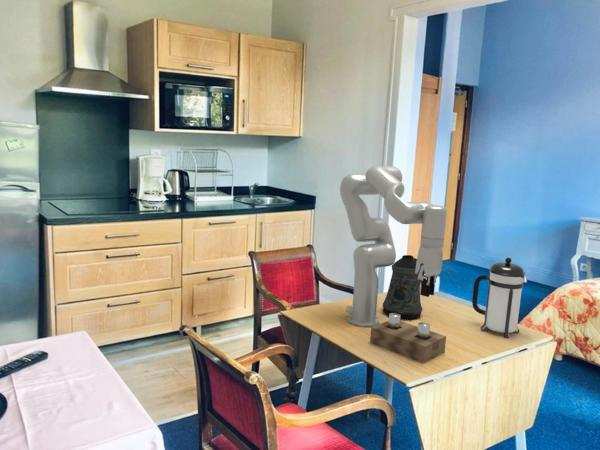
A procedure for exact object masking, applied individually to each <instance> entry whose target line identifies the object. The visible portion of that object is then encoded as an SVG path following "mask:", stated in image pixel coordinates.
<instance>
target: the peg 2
mask: <svg viewBox="0 0 600 450" xmlns="http://www.w3.org/2000/svg"><path fill="white" fill-rule="evenodd" d="M417 324H418V325H417V327H418V333H417V338H420V339H423V340H428V339H429V333H430V331H431V324H430V323H428V322H424V321H422V322H418V323H417Z"/></svg>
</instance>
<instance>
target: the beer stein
mask: <svg viewBox="0 0 600 450" xmlns="http://www.w3.org/2000/svg"><path fill="white" fill-rule="evenodd" d="M416 262H417V257H416V258H415V256H413V255H410V254H407V255H406V254H404V255H402V256H401V258H400V259H398V260H395V262H394V263H393V264H392V265H391V270H392V272H391V273H392V274H391V277H390V282H389V285H388V290H387V292H386V295H385V298H384V301H383V303H382V310H383V311H382V312H383V314H384V315H385V316H387V317H388V318H389V314H390V313H397V314H400V315H401V316H400V321H414V320H418V319H419V318H421V314H422V312H423V307H422V303H421V295H420V292H421V281H420V280H418V275H417V274H416V273H415V269H416Z"/></svg>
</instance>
